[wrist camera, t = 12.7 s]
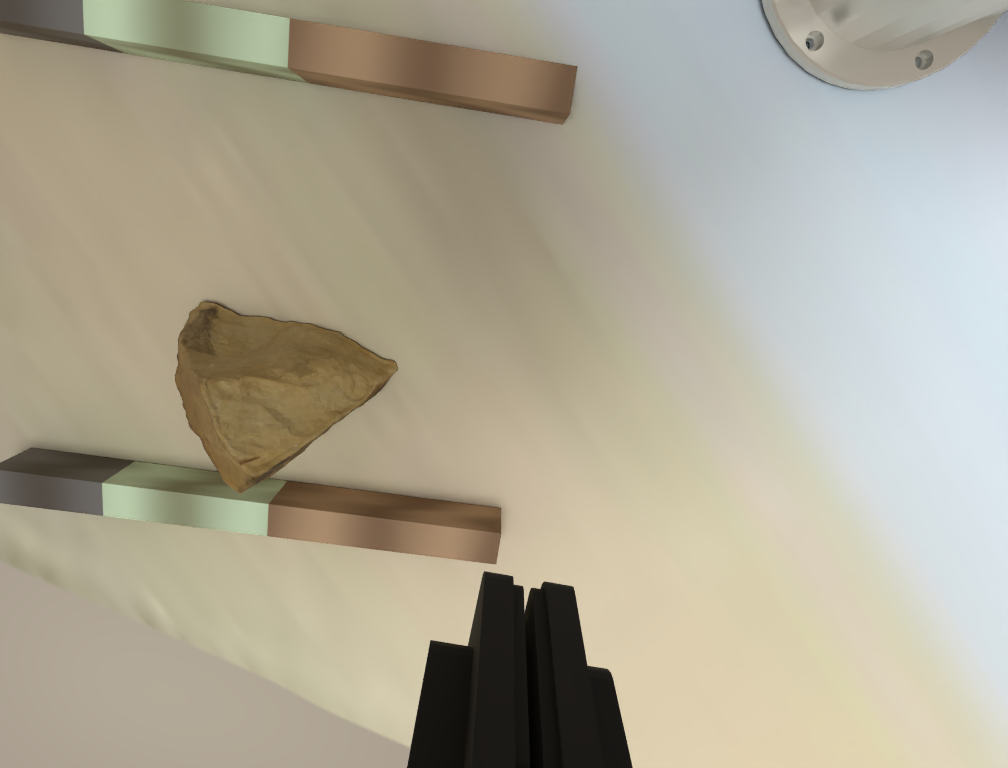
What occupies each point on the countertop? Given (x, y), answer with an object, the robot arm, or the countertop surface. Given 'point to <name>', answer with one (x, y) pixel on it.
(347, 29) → the channel
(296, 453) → the rock
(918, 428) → the countertop surface
